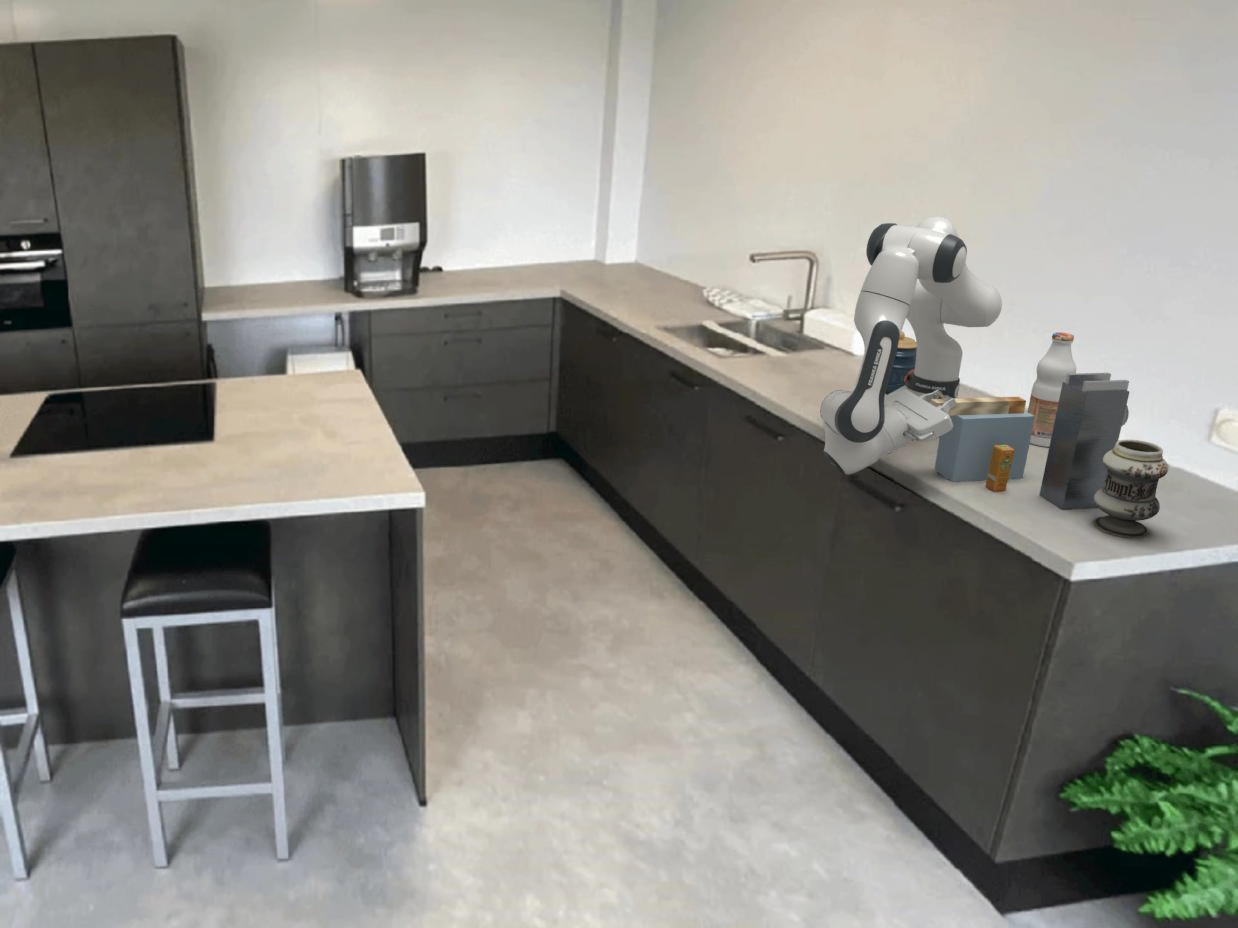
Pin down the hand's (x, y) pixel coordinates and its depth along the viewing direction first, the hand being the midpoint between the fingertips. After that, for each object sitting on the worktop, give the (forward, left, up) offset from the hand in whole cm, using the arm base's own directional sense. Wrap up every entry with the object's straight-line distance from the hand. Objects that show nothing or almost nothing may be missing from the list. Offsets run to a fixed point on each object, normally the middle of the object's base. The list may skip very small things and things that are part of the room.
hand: (947, 396), depth 220 cm
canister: (-30, +64, -19) cm, 74 cm away
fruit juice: (+16, +42, -19) cm, 49 cm away
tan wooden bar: (+6, +6, -4) cm, 9 cm away
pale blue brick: (+8, +8, -19) cm, 22 cm away
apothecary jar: (+40, -6, -19) cm, 45 cm away
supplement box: (+14, +1, -19) cm, 23 cm away
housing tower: (+29, +3, -19) cm, 35 cm away
